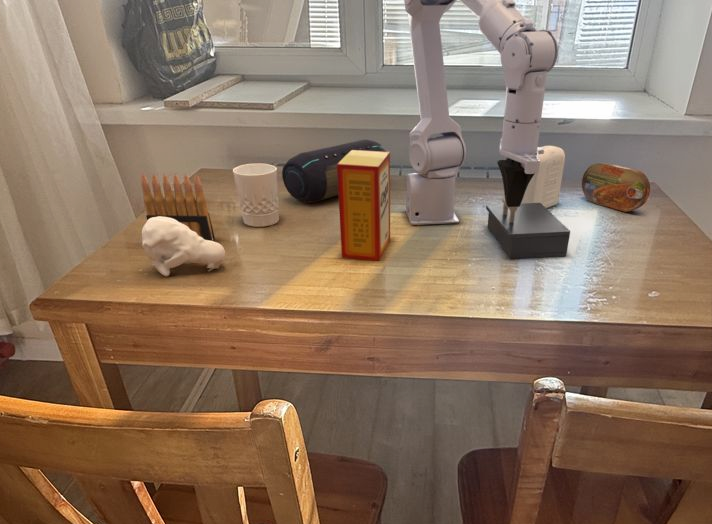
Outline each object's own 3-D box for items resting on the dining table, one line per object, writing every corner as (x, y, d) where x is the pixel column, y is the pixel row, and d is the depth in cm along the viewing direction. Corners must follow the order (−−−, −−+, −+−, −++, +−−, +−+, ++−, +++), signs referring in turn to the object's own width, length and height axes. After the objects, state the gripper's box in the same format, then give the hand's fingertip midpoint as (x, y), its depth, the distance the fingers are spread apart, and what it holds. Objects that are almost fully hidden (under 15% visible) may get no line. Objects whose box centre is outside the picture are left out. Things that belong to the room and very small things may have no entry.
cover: (509, 238, 97) (511, 214, 95) (485, 208, 110) (487, 186, 107) (569, 235, 99) (573, 211, 96) (539, 206, 111) (542, 184, 109)
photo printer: (544, 199, 127) (552, 140, 120) (560, 204, 124) (570, 144, 118) (515, 209, 121) (522, 148, 114) (532, 215, 118) (540, 153, 112)
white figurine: (147, 209, 91) (226, 215, 92) (154, 259, 95) (229, 265, 97) (134, 224, 86) (218, 230, 87) (142, 276, 90) (222, 281, 92)
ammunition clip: (215, 239, 104) (203, 172, 97) (212, 243, 102) (199, 175, 96) (155, 239, 104) (138, 171, 97) (151, 243, 102) (134, 175, 96)
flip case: (510, 259, 99) (512, 238, 97) (487, 227, 112) (488, 208, 110) (566, 256, 101) (569, 235, 99) (537, 225, 113) (539, 206, 111)
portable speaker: (309, 211, 117) (305, 161, 112) (279, 200, 123) (274, 152, 118) (395, 185, 133) (395, 140, 128) (366, 176, 139) (364, 133, 133)
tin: (578, 198, 128) (584, 159, 123) (586, 195, 130) (593, 157, 125) (638, 216, 118) (648, 175, 114) (646, 213, 120) (656, 172, 116)
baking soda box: (355, 237, 106) (351, 147, 98) (390, 239, 106) (389, 149, 97) (341, 257, 98) (336, 162, 90) (379, 260, 98) (377, 164, 89)
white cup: (232, 224, 110) (223, 171, 105) (256, 211, 117) (249, 161, 111) (267, 230, 108) (260, 177, 103) (290, 217, 114) (284, 166, 109)
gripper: (564, 129, 84) (551, 219, 91) (531, 110, 96) (522, 191, 103) (517, 130, 83) (508, 221, 90) (490, 110, 95) (483, 192, 102)
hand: (512, 205), depth 97 cm, fingers closed
